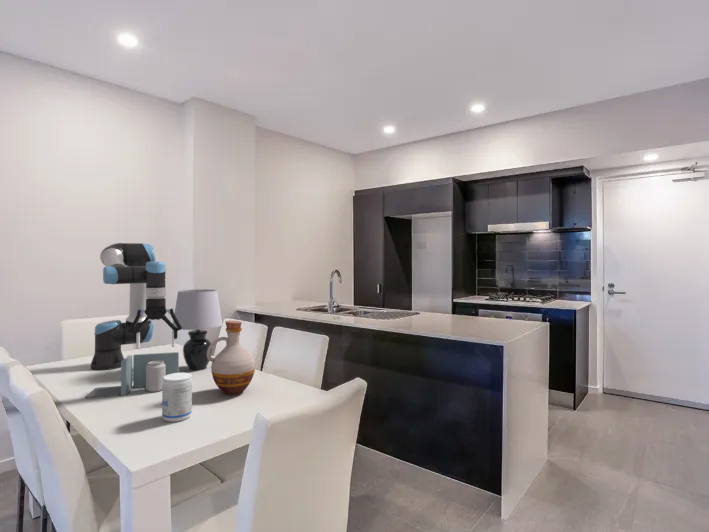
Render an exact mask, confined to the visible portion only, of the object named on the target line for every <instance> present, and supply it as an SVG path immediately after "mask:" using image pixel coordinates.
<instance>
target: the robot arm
mask: <svg viewBox="0 0 709 532" xmlns="http://www.w3.org/2000/svg"><path fill="white" fill-rule="evenodd" d="M99 258H100V262H101V263H102V265H104V266H105V267H103V268H102V280H103V283H104V284H105V285H123V284H124V285H125V284H127V285H128V284H129V306H128V307H129V312H128V315H129V316H127V317H126V318H125V322H122V320H120V319H115V320H107V321H103V322H100V323H97V324H96V325H95V327H94V333H93V334H94V353H93V357H92V359H91V363H90V369H91V370H94V371H105V370H106V371H107V370H113V369H114V370H115V369H118V368H121V361H122V360H124V359H125V357H124V355H123V352H122V346H125V345H134V344H136V350H139V349H141V344H144V343H149V342H150V341H151V340H152V338H153V334H154V326H155V325H154V321H155V320H157V321H160V320H162V321H164V322H165V324H167V326H169V328H170V329H171V330H172V331H171V348H175V345H176V343H175V342H176V340H177V339H178V331H181V329H182V326H181V325H180V323H179V321H178V319H177V317H176V316H175V314H174V313H175V308H173V307H171V308H167V307H166V306H167V305H166V303H167V302H166V300H167V298H166V271H167V267H166V263H165V262H164V261H157V260H156V253H155V249H154V247H153V245H152V244H150V243H139V242H133V243H130V242H129V243H128V242H127V243H126V242H124V243H123V242H118V243H117V242H116V243H113V244H110V245H108V246H106V247H104V249H102V251H101V253H100V257H99ZM166 314H168V315H170V317H171V318H172V321H173V320H174V322H175V324H176V326H177V328H176V327H175V326H174V325H173V322H172V321H171V320H170V319H169V318H168V317H167V316H166Z"/></svg>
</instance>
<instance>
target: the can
mask: <svg viewBox="0 0 709 532" xmlns="http://www.w3.org/2000/svg"><path fill="white" fill-rule="evenodd" d="M164 376H166V365H165V364H164V361H151V362H149V363H148V365H147V366H146V386H145V390H146V391H147V392H149V393H157V392H161V391H162V386H163V377H164Z"/></svg>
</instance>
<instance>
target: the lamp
mask: <svg viewBox="0 0 709 532" xmlns="http://www.w3.org/2000/svg"><path fill="white" fill-rule="evenodd" d="M221 313H222V312H221V307H220V302H219V294H218V290H217V289H208V288H206V289H198V288H197V289H195V288H194V289H182V290H177V296H176V302H175V308H174V314H175V316H176V317H177V319H178V321H179V323H180V325H181V326H182V329H181V330H182V331H184V330H186V331H188V334H187V335H188V336H189V339H188V340H186V342H185V343H184V344H183V346H182V356H183V358H184V361H185V364H186V366H187V368H188V370H190V371H194V372H195V371H203V370H205V369H208V365H209V364H210V363H209V362H210V361H209V360H208V358H207V350H208V348H209V346H210V344H211V343H212V342H211V341H210V340H209V339H208V338H206V337H207V334H208V331H207V330H208V329H209V330H210V329H215V328H220V327H222V326H223V320H222V314H221ZM172 324H173V325H174V326H175V327H176V328H177V326H176V324H175V322H174V320H173V319H172ZM181 330H180V331H181ZM212 354H213V348H212V349H211V354H210V355H211V356H212Z"/></svg>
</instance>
